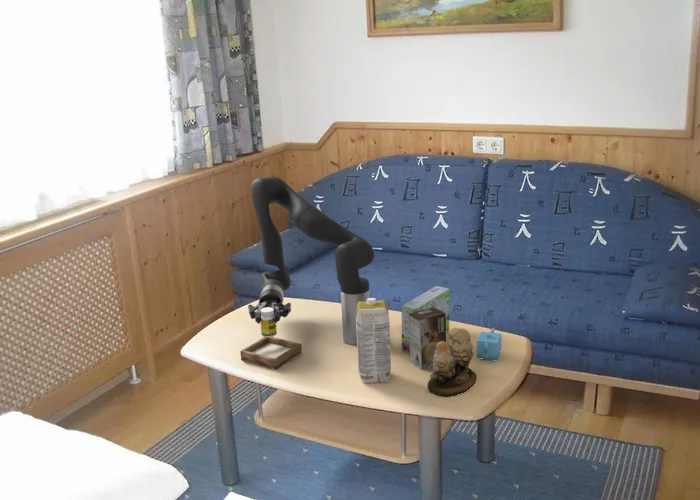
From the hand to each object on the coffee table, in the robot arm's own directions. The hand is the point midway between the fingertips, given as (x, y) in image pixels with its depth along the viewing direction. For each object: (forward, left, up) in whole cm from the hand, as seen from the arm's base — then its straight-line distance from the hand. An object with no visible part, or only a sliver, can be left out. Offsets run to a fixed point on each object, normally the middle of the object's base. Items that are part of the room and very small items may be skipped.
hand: (267, 320), depth 220 cm
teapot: (-58, -34, -14) cm, 68 cm away
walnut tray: (+1, -2, -13) cm, 13 cm away
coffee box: (-44, -21, -14) cm, 50 cm away
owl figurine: (-56, -13, -14) cm, 59 cm away
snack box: (-36, -35, -14) cm, 52 cm away
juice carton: (-35, -5, -13) cm, 38 cm away
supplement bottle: (+2, -2, -6) cm, 7 cm away
